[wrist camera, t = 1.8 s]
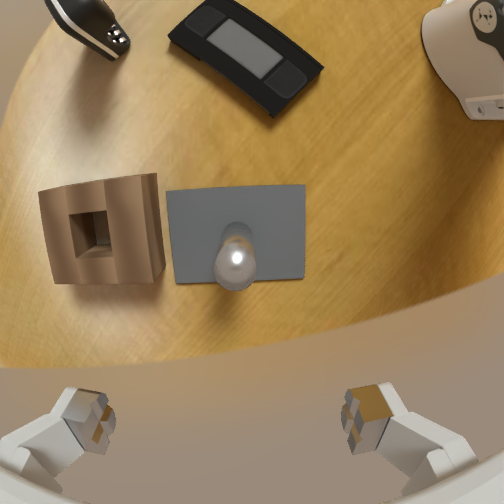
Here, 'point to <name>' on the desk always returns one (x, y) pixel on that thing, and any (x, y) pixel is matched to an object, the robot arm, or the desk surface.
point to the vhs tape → (246, 52)
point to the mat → (238, 210)
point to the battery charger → (91, 25)
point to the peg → (235, 258)
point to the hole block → (120, 228)
